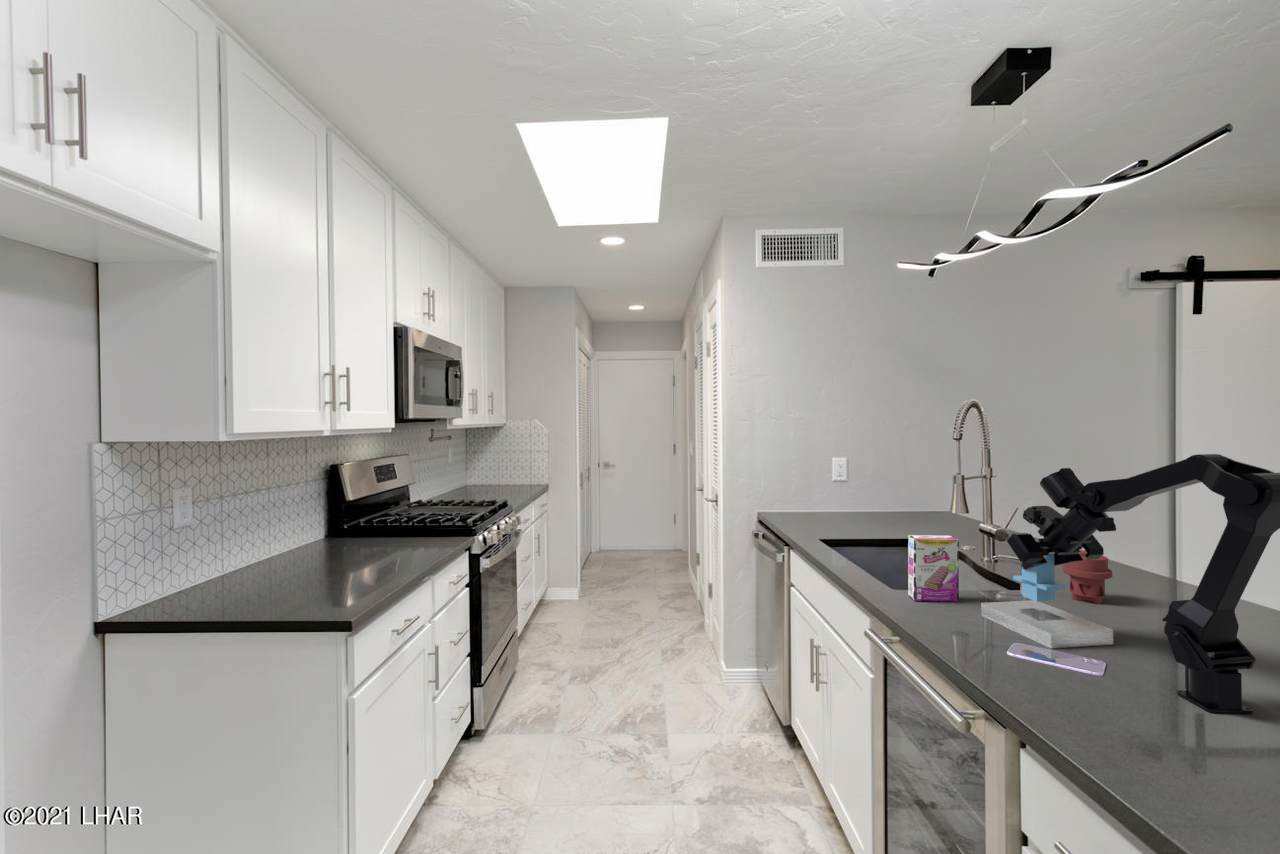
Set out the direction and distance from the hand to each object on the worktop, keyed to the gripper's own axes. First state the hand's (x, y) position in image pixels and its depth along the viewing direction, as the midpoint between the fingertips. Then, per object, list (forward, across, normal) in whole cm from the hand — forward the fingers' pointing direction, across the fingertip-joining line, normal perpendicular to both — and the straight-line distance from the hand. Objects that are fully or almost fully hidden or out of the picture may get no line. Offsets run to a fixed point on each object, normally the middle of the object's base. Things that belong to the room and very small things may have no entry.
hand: (1032, 567), depth 127 cm
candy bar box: (+26, +9, -6) cm, 28 cm away
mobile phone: (-1, +10, +21) cm, 23 cm away
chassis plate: (+9, -1, +10) cm, 14 cm away
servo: (+4, 0, +6) cm, 7 cm away
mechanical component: (+20, -29, 0) cm, 35 cm away
